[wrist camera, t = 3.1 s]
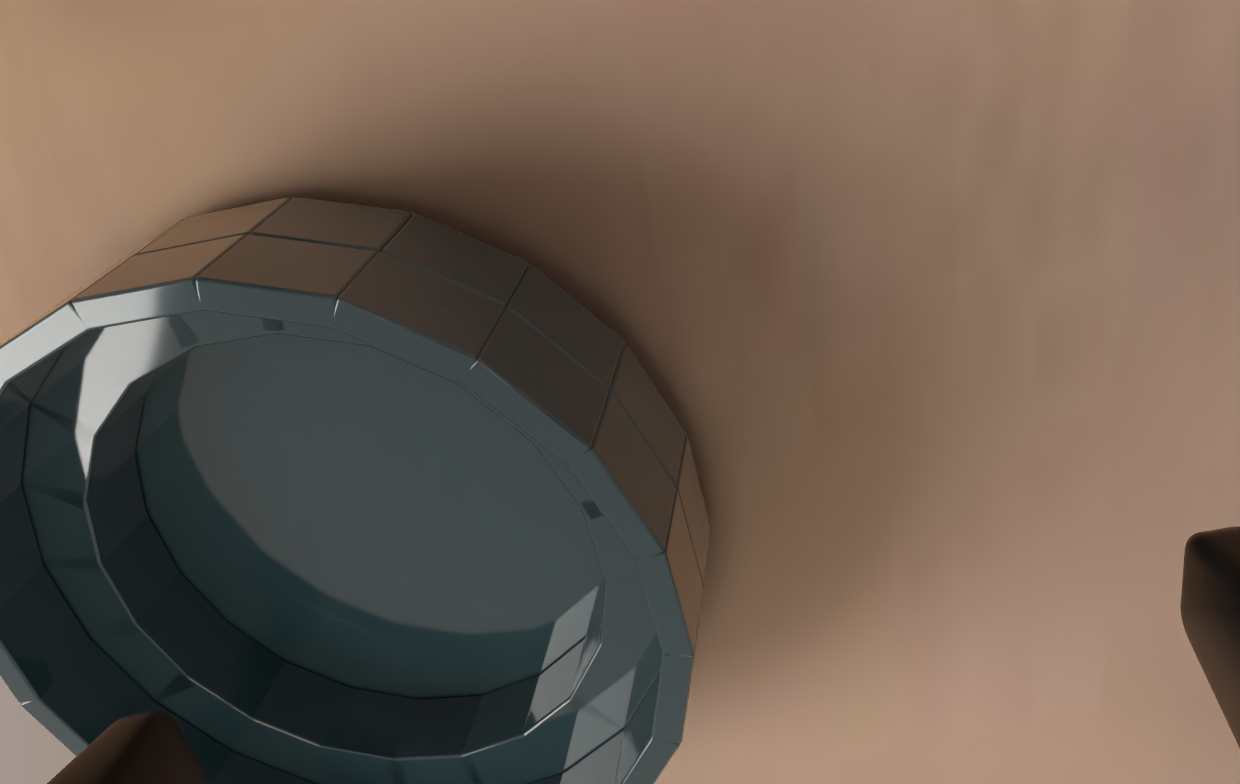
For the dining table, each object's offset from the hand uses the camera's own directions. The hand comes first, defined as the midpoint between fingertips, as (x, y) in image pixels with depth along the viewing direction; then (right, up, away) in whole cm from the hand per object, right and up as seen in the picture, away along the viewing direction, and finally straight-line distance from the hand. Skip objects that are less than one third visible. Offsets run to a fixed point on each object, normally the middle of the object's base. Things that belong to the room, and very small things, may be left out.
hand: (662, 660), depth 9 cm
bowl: (-6, 0, +15) cm, 16 cm away
